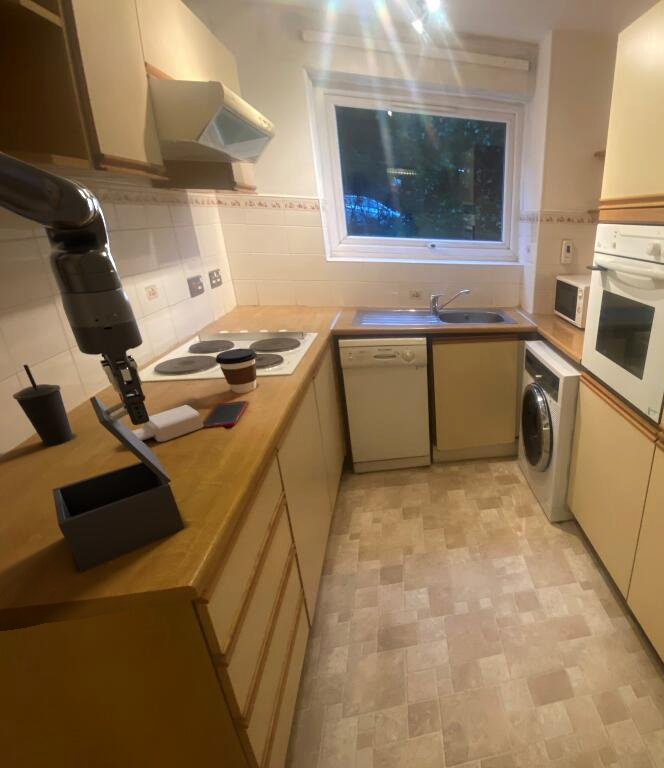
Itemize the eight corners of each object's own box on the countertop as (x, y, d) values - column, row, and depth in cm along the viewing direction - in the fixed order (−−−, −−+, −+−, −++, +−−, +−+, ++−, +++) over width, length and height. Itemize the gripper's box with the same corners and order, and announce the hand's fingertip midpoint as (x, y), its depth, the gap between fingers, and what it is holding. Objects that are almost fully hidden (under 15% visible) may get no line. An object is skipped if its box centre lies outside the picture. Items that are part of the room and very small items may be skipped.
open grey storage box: (82, 574, 68) (58, 524, 64) (74, 535, 76) (52, 489, 72) (185, 530, 77) (169, 484, 73) (168, 500, 85) (153, 457, 81)
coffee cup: (230, 384, 139) (221, 349, 135) (267, 381, 142) (260, 346, 138) (219, 398, 130) (208, 360, 125) (259, 394, 133) (251, 357, 128)
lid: (99, 422, 65) (137, 402, 67) (89, 398, 72) (123, 380, 75) (166, 484, 73) (197, 463, 76) (150, 456, 81) (179, 439, 84)
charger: (120, 443, 105) (190, 419, 116) (133, 455, 100) (205, 428, 111) (113, 426, 103) (185, 403, 114) (125, 437, 98) (199, 412, 109)
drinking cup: (44, 439, 106) (9, 362, 99) (85, 432, 110) (54, 357, 102) (31, 454, 100) (-7, 373, 92) (75, 445, 103) (42, 367, 96)
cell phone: (248, 403, 126) (247, 400, 126) (234, 426, 113) (234, 423, 113) (217, 406, 124) (216, 403, 123) (200, 430, 111) (199, 427, 111)
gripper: (64, 315, 68) (102, 411, 75) (74, 332, 59) (115, 440, 66) (126, 307, 73) (156, 398, 80) (142, 322, 64) (175, 423, 71)
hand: (137, 416), depth 73 cm, fingers open, 5 cm apart
